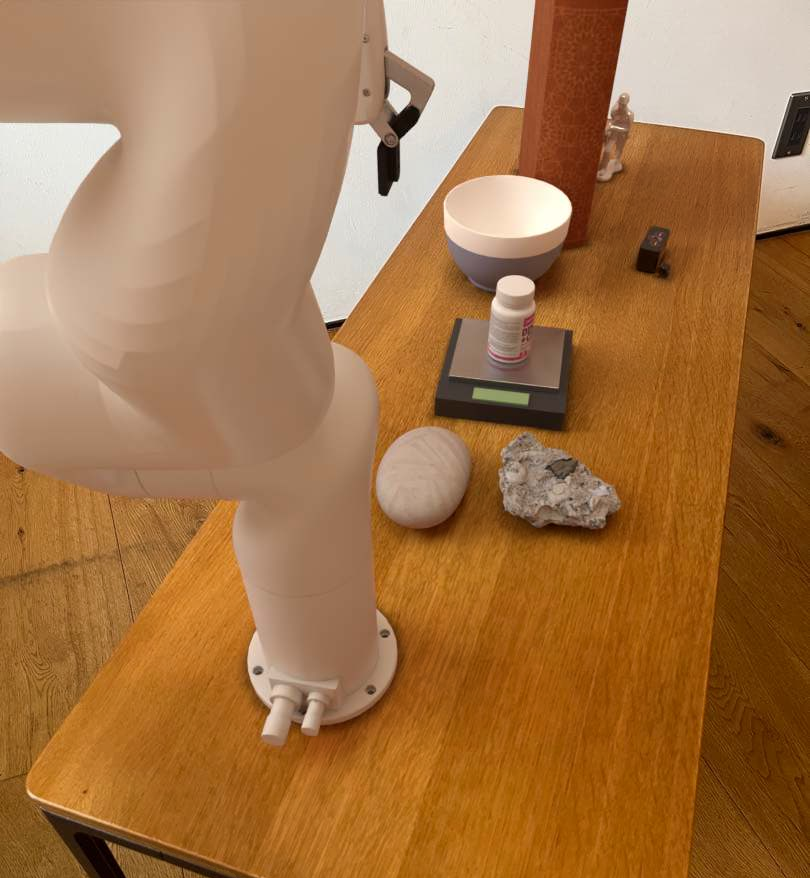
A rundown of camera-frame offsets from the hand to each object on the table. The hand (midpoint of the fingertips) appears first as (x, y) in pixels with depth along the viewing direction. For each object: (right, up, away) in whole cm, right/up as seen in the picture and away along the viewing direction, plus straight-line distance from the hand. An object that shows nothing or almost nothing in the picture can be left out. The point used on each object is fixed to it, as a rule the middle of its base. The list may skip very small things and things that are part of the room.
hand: (330, 183), depth 66 cm
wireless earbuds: (+40, +7, +40) cm, 57 cm away
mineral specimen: (+21, -27, +12) cm, 36 cm away
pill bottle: (+18, -9, +23) cm, 30 cm away
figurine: (+38, +27, +56) cm, 73 cm away
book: (+28, +19, +50) cm, 60 cm away
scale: (+18, -12, +24) cm, 32 cm away
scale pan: (+18, -9, +23) cm, 31 cm away
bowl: (+19, +5, +39) cm, 44 cm away
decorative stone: (+8, -25, +13) cm, 30 cm away
